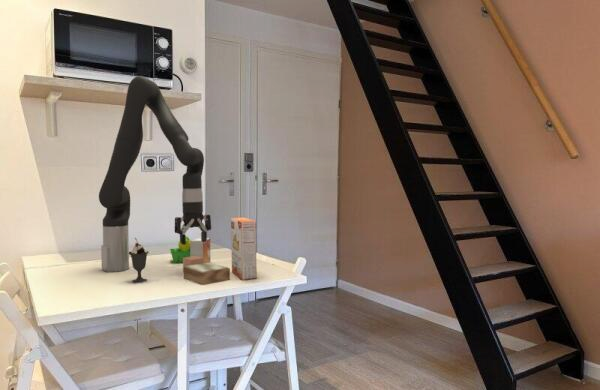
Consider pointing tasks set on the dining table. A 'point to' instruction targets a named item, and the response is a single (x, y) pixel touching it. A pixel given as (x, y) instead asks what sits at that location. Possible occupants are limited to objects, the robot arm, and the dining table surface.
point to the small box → (200, 249)
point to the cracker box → (243, 248)
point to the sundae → (138, 261)
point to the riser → (206, 273)
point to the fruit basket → (181, 251)
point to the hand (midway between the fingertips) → (193, 243)
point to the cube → (192, 261)
